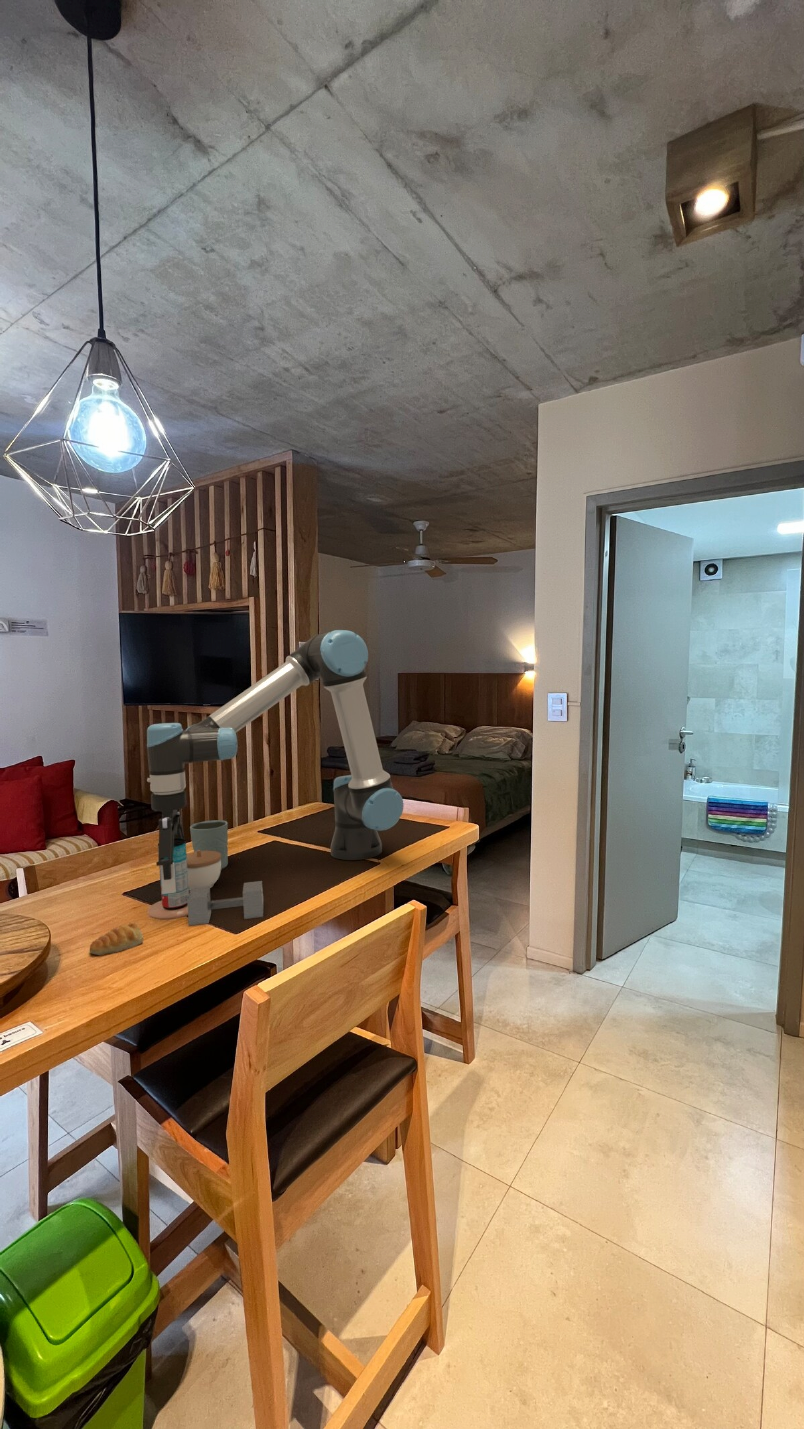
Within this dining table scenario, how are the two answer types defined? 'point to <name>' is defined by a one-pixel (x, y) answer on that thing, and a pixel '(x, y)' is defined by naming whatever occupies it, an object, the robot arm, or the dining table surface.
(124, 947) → the pastry
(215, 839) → the green plant pot
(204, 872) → the lidded jar
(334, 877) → the dining table surface
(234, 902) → the dumbbell
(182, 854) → the beverage can
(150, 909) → the coaster
